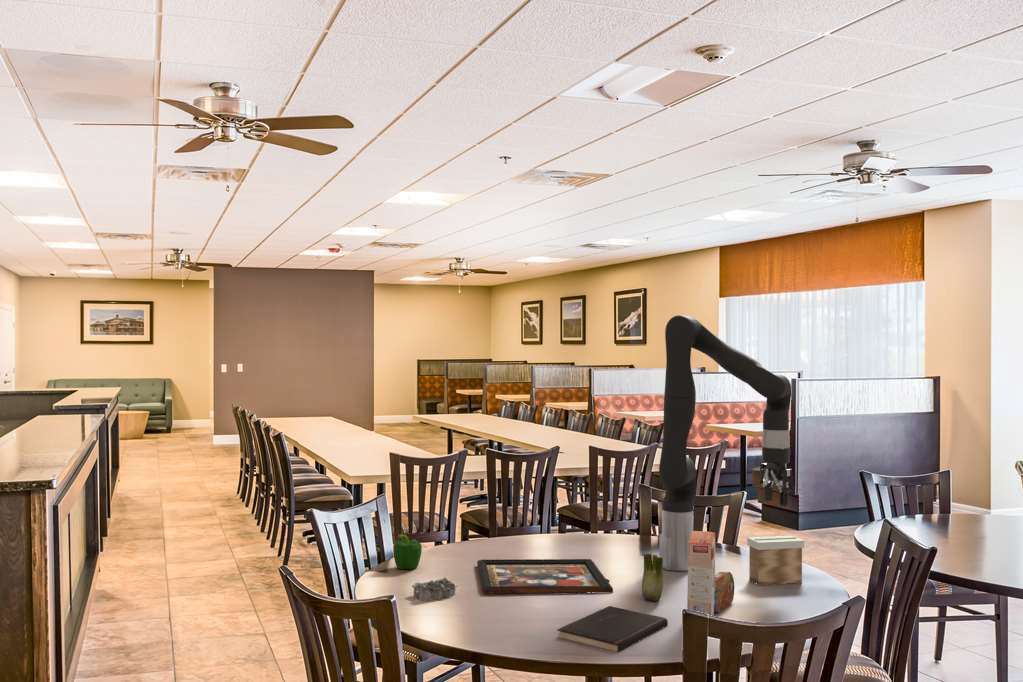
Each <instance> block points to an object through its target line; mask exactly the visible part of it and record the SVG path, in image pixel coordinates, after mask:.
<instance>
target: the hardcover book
mask: <svg viewBox="0 0 1023 682" xmlns="http://www.w3.org/2000/svg"><path fill="white" fill-rule="evenodd" d="M667 625H669V623H668V619H667V618H666V617H662V616H658V615H655V614H654V615H653V614H649V613H643V612H639V611H635V610H630V609H626V608H620V607H618V606H611V605H609V606H606V607H604V608H601V609H599V610H597V611H595V612H593V613H590V614H588V615H586V616H584V617H582V618H580V619H577V620H576V621H575V620H574V621H573V622H570V623H569V624H567V625H564V626H562V627H559V628H557V629H556V631H557V632H559V633H558V636H559V638H561V639H565V640H569V641H574V642H577V643H582V644H585V645H588V646H594V647H598V648H601V649H606V650H610V651H613V652H618V653H619V652H621V651H623V650H625V649H628V647H631V646H633V645H634V643H635V644H637V643H638V642H640V641H642V640H643V638H644V639H645V637H646V638H647V636H648V637H650V636H651V635H653V634H655V633H657V632H658V630H659V631H660V629H661V628H662V629H664V628H666V627H668V626H667ZM665 626H666V627H665ZM663 627H664V628H663ZM662 629H661V630H662ZM656 631H657V632H656ZM654 632H655V633H654ZM652 633H653V634H652ZM650 634H651V635H650ZM639 640H640V641H639ZM632 644H633V645H632Z"/></svg>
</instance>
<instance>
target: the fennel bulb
mask: <svg viewBox="0 0 1023 682" xmlns="http://www.w3.org/2000/svg"><path fill="white" fill-rule="evenodd" d="M662 565H663V557H659V555H658V554H652V553H643V575H642V578H641V594H642V597H643V598H644V599H645V600H647V601H650V602H653V601H654V602H655V601H656V602H657V601H660V600H661V598H662V594H663V590H664V589H663V588H664V585H663V584H664V577H663V574H664V573H663V568H662Z"/></svg>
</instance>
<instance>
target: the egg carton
mask: <svg viewBox="0 0 1023 682" xmlns="http://www.w3.org/2000/svg"><path fill="white" fill-rule="evenodd" d="M411 588H413V597H414V598H416V599H417V598H419V601H424V602H430V601H431V600H433V599H434V600H435V599H437V600H440V599H443V598H445V597H446V598H447V597H449V598H453V597H454V596H456V588H458V585H455V583H454V582H453V581H451V580H449V579H448V578H447V577H443V578H442V579H440V578H439V580H438V579H437V580H435V581H434V580H430V581H425V582H415V583H413V585H411Z"/></svg>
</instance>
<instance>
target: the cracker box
mask: <svg viewBox="0 0 1023 682" xmlns="http://www.w3.org/2000/svg"><path fill="white" fill-rule="evenodd" d="M715 575H716V533H715V532H711V531H704V530H703V531H700V530H693V531H692V534H691V537H690V540H689V543H688V570H687V597H686V598H687V599H686V600H687V604H686V605H687V606H686V607H687V609H686V611H687V610H693V611H699V612H703V613H707V614H709V615H712V616H714V615H715V612H714V589H715Z"/></svg>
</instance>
